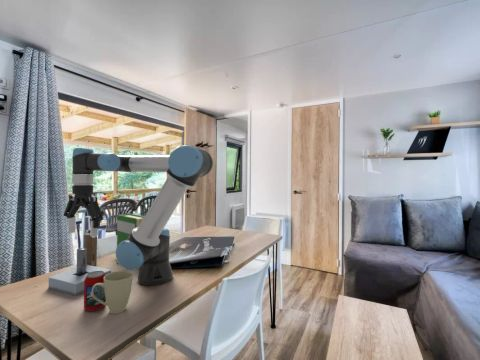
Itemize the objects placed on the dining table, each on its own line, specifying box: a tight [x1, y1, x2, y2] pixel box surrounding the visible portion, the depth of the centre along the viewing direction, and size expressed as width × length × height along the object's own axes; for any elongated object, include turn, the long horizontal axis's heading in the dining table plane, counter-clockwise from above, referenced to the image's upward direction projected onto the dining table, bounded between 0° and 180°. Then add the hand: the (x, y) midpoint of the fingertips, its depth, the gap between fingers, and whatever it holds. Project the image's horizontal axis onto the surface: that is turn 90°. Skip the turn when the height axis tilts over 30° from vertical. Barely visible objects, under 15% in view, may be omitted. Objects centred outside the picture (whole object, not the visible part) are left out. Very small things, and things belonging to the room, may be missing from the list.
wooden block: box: [83, 232, 98, 267], centre depth 121 cm, size 4×11×18 cm, turn 17°
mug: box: [92, 270, 133, 314], centre depth 84 cm, size 11×10×12 cm
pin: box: [76, 247, 87, 276], centre depth 103 cm, size 4×4×14 cm
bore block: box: [48, 265, 112, 297], centre depth 104 cm, size 16×16×4 cm
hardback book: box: [116, 213, 146, 247], centre depth 137 cm, size 18×7×24 cm, turn 55°
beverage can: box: [83, 271, 106, 312], centre depth 86 cm, size 7×7×12 cm
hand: (82, 234), depth 103 cm, fingers open, 13 cm apart
